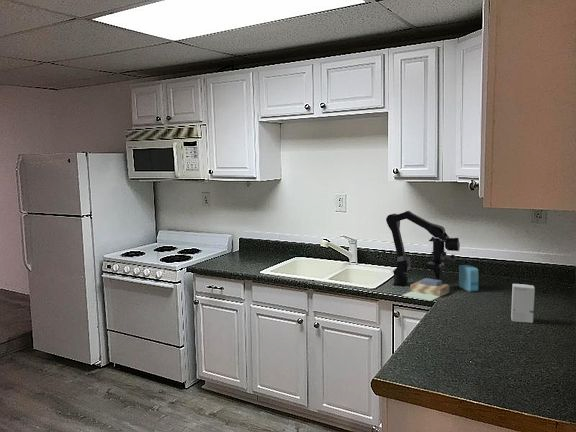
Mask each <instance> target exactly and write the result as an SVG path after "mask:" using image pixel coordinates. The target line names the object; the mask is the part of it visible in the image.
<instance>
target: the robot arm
mask: <svg viewBox="0 0 576 432" xmlns="http://www.w3.org/2000/svg"><path fill="white" fill-rule="evenodd" d="M385 219H386V220H385V222H386V224H387V227H388V228H389V230H390V231H391V234H392V238H393V244H394V247H395V251H396V257H397V259H396V268H395V269H393V271H392V273H393V283H392V286H396V287H398V286H399V287H405V286H407V285H409V283H408V279H409V277H408V270H410V269H411V265H412V263H413V262H411V256H407V255H406V250H405V246H404V243H403V237H402V234H401V230H400V229H401V221H403V220H408V221H410V222H412V223H414V224H416V225H418V226H419V227H421V228H423V229H424V230H426V231H427V232H428V233H429V234H430V235H431V236H432V237H431V238H430V239H429V240H428V241H429V242H432V251H431V254H432V259H431V260H430V261H428V262H426V263H425V266H424V267H425V268H426V269H430V270H431V269H432V271H433V273H434V275H435V278H436V280H441V276H442V273H443V270H444V269H445V268H446V267H447V266H449V267H451V266H454V265H455V262H456V261H457V260H456V259H457V258H456V255H455V254H451V255H448V254H447V251H449V252H450V251H453V252H460V248H461V246H460V245H461V243H460V239H459V237H450V236H449V235H448V234H447V232H446V229H445V227H444V226H442V225H440V224H437V223H433V222H430V221H428V220H426V219H425V218H422V217H421V216H419V215H417V214H416V213H413V212H412V211H410V210H406V211H404V212H401V213H391V214H389V215H387V216H386V218H385ZM445 249H446V250H447V251H445ZM445 264H446V265H445Z"/></svg>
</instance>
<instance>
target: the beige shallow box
mask: <svg viewBox="0 0 576 432" xmlns="http://www.w3.org/2000/svg"><path fill="white" fill-rule="evenodd" d="M409 285H410V287H409V288H410V291H409V292H416V293H422V294H428V295H434V296H440V297H442V296H445V295H447V294H449V293H450V284H447V283H442V284H441V285H439V286H430V285H424V284H420V280H418V281H416V282H414V283H412V284H409ZM440 297H439V298H440Z"/></svg>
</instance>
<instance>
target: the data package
mask: <svg viewBox="0 0 576 432" xmlns="http://www.w3.org/2000/svg"><path fill="white" fill-rule="evenodd" d="M458 287H459V288H460V289H463V290H465V291H467V292H469V293H470V292H477V291H479V269H478V268H477V267H475V266H472V265H469V264H461V265H458Z"/></svg>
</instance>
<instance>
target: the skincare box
mask: <svg viewBox="0 0 576 432" xmlns="http://www.w3.org/2000/svg"><path fill="white" fill-rule="evenodd" d="M511 288H512V289H511V290H512V291H511V310H510V313H511V314H510V318H511V322H517V323H527V324H528V323H530V324H533V323H534V311H535V310H534V308H535V294H536V293H535V291H536V289H535V286H534V285H533V284H524V283H523V284H522V283H521V284H520V283H512V287H511Z"/></svg>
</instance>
